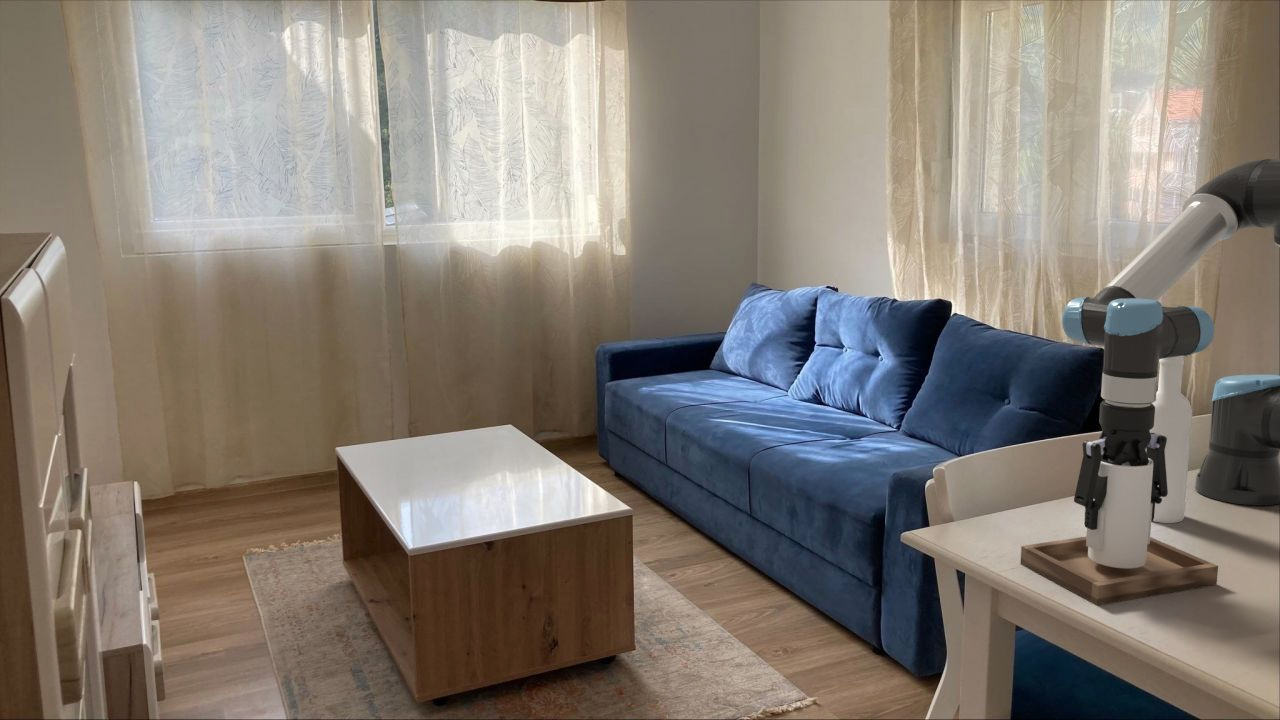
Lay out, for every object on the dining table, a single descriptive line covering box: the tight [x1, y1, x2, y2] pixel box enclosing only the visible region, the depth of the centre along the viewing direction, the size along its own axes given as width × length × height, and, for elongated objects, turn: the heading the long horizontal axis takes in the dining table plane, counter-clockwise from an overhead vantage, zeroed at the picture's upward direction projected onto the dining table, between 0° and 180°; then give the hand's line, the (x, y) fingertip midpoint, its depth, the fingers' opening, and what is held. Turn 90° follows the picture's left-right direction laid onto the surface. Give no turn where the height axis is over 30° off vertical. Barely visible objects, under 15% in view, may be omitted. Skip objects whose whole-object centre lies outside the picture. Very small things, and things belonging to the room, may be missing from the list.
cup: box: [1088, 458, 1153, 568], centre depth 157 cm, size 8×8×16 cm
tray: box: [1020, 535, 1219, 606], centre depth 158 cm, size 22×17×3 cm
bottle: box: [1145, 356, 1193, 524], centre depth 182 cm, size 8×8×30 cm
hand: (1117, 544), depth 158 cm, fingers closed on cup, 8 cm apart
